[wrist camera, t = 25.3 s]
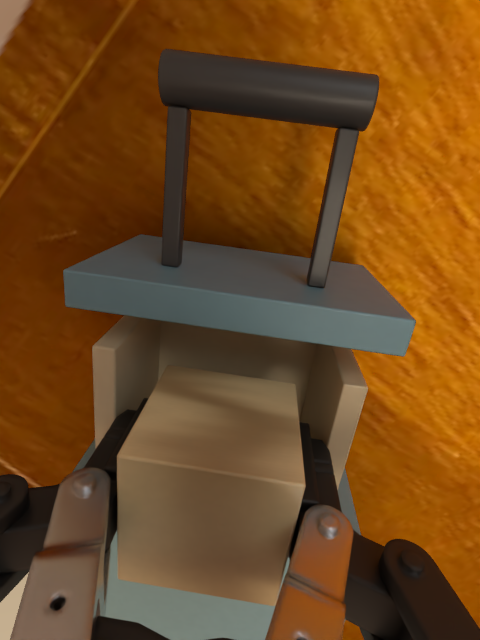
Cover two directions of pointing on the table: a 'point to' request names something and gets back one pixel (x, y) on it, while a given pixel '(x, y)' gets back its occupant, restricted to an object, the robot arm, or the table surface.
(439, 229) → the table surface
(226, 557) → the block
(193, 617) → the cabinet
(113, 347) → the drawer
